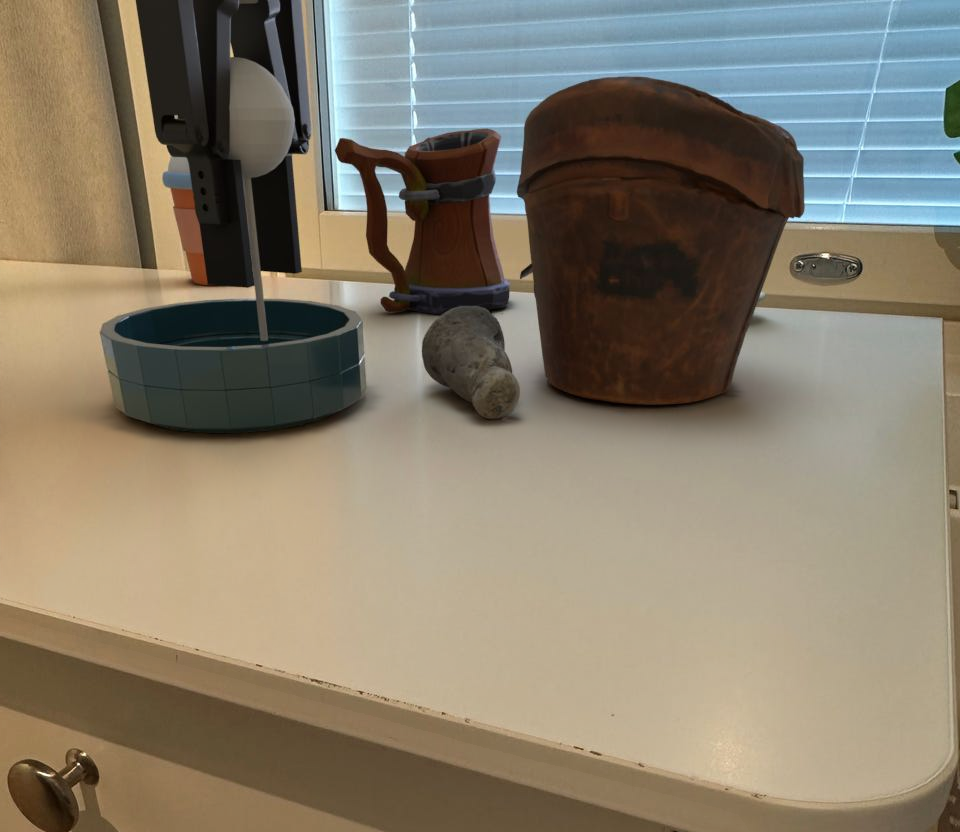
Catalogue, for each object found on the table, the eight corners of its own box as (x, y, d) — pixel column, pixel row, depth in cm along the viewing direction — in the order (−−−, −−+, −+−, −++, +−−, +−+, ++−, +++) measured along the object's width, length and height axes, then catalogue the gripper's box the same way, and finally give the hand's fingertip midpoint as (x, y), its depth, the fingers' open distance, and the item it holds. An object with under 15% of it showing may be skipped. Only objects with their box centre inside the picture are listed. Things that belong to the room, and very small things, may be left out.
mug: (389, 330, 76) (380, 130, 69) (315, 310, 84) (300, 128, 76) (535, 305, 87) (542, 129, 79) (458, 290, 94) (457, 127, 86)
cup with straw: (202, 273, 102) (176, 90, 93) (276, 276, 101) (257, 90, 92) (162, 286, 95) (130, 88, 85) (242, 289, 93) (217, 88, 84)
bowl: (61, 422, 53) (41, 336, 51) (210, 363, 66) (200, 292, 63) (290, 452, 49) (281, 360, 46) (403, 383, 62) (400, 307, 59)
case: (701, 346, 72) (736, 87, 63) (824, 417, 55) (895, 78, 46) (486, 353, 70) (490, 84, 60) (546, 430, 53) (563, 72, 43)
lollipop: (194, 341, 55) (152, 55, 48) (264, 325, 60) (236, 60, 52) (263, 355, 52) (230, 53, 45) (332, 338, 57) (312, 58, 49)
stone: (522, 438, 54) (579, 332, 56) (464, 380, 51) (526, 270, 52) (429, 441, 62) (482, 348, 63) (374, 391, 58) (430, 295, 60)
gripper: (145, -330, 34) (227, 308, 46) (354, -196, 48) (374, 262, 60) (-10, -307, 36) (107, 298, 48) (235, -185, 50) (278, 255, 62)
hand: (256, 277), depth 54 cm, fingers closed on lollipop, 5 cm apart
